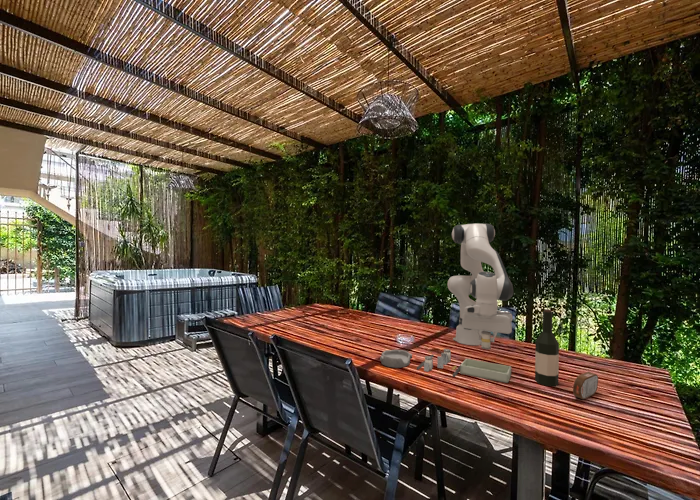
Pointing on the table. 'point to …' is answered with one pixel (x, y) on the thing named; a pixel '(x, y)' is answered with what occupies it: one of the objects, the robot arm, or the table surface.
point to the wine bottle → (547, 354)
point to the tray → (486, 370)
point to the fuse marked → (485, 340)
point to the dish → (395, 358)
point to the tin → (585, 385)
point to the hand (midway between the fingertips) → (485, 340)
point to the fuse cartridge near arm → (447, 353)
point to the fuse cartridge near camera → (429, 361)
